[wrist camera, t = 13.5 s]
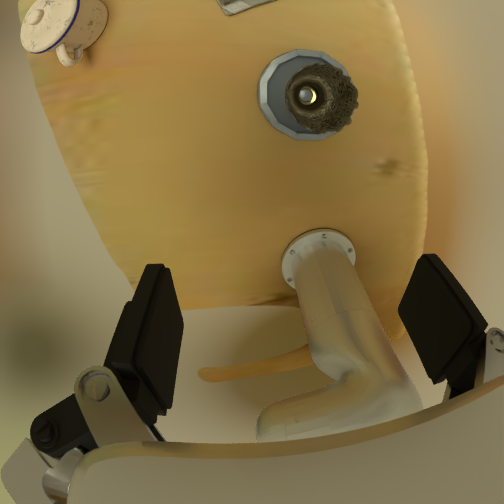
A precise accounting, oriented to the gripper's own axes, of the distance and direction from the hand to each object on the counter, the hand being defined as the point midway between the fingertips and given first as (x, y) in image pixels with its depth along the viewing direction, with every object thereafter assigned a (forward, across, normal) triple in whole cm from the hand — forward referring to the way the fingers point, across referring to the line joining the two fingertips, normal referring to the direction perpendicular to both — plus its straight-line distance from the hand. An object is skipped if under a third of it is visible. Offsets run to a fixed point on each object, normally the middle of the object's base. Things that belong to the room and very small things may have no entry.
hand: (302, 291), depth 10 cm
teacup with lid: (+28, +23, -19) cm, 41 cm away
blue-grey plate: (+28, -6, -6) cm, 30 cm away
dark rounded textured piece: (+28, -6, -6) cm, 29 cm away
